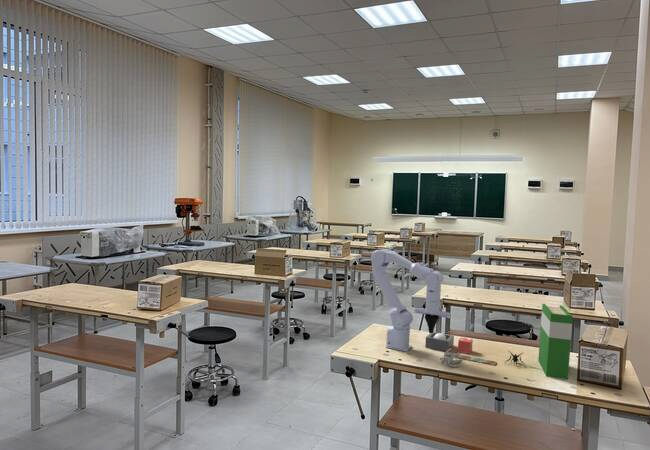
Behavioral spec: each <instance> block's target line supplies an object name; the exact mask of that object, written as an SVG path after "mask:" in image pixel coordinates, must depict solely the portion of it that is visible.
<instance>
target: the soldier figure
mask: <svg viewBox="0 0 650 450" xmlns="http://www.w3.org/2000/svg"><path fill="white" fill-rule="evenodd" d="M450 351H451V349H448V350H447V351H444V353H443V355H442V357H441V358H439V360H440V361H441V363H442V365H443V364H444V363H445V364H446V366H449V367H452V368H458V367H459V368H460V364H456V363H460V362H463V361H464V359H459V358H454V357H455V356H459V355H461V352H458V353H454V354H453V355H452V356H451V357H449V356H446V355H447V353H448V352H450Z"/></svg>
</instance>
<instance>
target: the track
mask: <svg viewBox="0 0 650 450" xmlns="http://www.w3.org/2000/svg"><path fill="white" fill-rule="evenodd" d="M453 354H455V353H454V352H450V351H448V353H447V355H446V356H449V357H451V356H452V355H453ZM453 359H458V360H459V359H463V361H464V360H465V361H470V362H474V363H479V364H485V365H489V366H496V365H497V362H498V361H495V360H490V359H484V358H481V357H479V358H478V357H474V356H469V355H465V354H464V355H463V354H460V355H459V356H455V357H454V358H453Z"/></svg>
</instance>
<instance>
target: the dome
mask: <svg viewBox="0 0 650 450" xmlns="http://www.w3.org/2000/svg"><path fill="white" fill-rule="evenodd" d="M436 333H437V334H436V335H435V336H434V338H438V339H443V340H447V339H446V336H445V335H444V334H445V333H442V332H436Z"/></svg>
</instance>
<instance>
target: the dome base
mask: <svg viewBox="0 0 650 450" xmlns="http://www.w3.org/2000/svg"><path fill="white" fill-rule="evenodd" d="M437 333H438V332H437V331H433V333H429V334H428V335H427V336H425V346H424V347H425V348H427V349H432V350H433V349H434V350H437V351H443V352H446V351H447V350H448V349H450V350H452V348H453V347H454V344H455V335H452V334H447V333H443V334H444V335H445V336H446V339H447V340H443V339H438V338H434V336H435V335H436V334H437Z"/></svg>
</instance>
